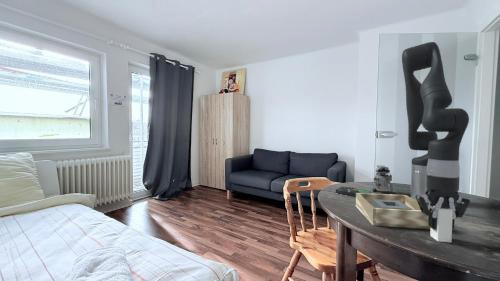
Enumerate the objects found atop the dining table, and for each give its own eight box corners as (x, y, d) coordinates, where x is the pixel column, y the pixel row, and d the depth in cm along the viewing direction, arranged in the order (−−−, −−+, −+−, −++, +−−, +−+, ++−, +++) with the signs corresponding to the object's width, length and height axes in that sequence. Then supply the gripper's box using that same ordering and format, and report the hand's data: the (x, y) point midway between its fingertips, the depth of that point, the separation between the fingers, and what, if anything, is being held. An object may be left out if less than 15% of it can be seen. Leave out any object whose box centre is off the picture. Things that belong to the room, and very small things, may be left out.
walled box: (405, 208, 93) (405, 195, 93) (436, 229, 73) (437, 212, 73) (355, 206, 97) (356, 193, 96) (372, 225, 77) (373, 208, 77)
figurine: (370, 194, 115) (370, 166, 115) (374, 189, 124) (375, 163, 123) (390, 197, 109) (391, 167, 109) (393, 192, 118) (394, 165, 118)
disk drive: (335, 194, 116) (365, 200, 106) (335, 189, 116) (365, 194, 106) (342, 190, 124) (371, 195, 114) (342, 186, 124) (371, 190, 114)
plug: (443, 236, 69) (444, 196, 68) (451, 242, 65) (452, 199, 65) (430, 235, 69) (431, 195, 69) (437, 241, 66) (439, 199, 65)
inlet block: (398, 210, 89) (398, 200, 89) (411, 219, 79) (412, 209, 79) (372, 208, 91) (372, 199, 91) (382, 217, 81) (382, 207, 81)
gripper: (459, 172, 69) (457, 225, 69) (410, 171, 71) (408, 222, 72) (480, 177, 61) (477, 236, 62) (424, 175, 64) (422, 232, 65)
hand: (440, 228), depth 67 cm, fingers closed on plug, 3 cm apart
